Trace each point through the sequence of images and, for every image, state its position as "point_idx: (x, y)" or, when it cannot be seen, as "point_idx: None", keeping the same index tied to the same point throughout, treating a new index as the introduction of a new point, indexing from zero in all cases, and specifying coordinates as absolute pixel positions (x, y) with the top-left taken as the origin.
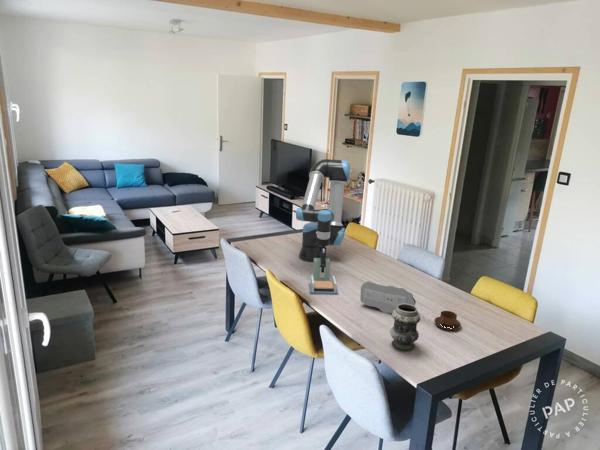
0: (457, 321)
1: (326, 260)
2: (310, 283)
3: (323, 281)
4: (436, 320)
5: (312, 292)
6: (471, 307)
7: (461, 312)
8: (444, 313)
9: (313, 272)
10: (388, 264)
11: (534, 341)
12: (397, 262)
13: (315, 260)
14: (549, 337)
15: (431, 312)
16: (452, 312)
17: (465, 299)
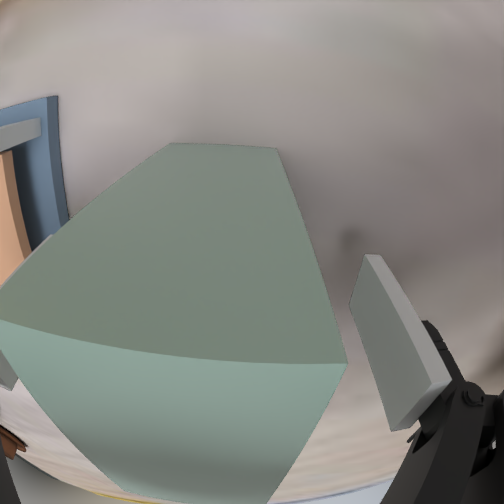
0: (21, 449)
1: (148, 486)
2: (44, 114)
3: (13, 254)
4: (6, 432)
5: None
6: (100, 485)
7: (71, 471)
8: (10, 451)
9: (204, 164)
10: (369, 474)
11: (34, 466)
12: (374, 481)
13: (32, 357)
14: (54, 478)
15: (41, 446)
16: (12, 459)
17: (133, 495)
